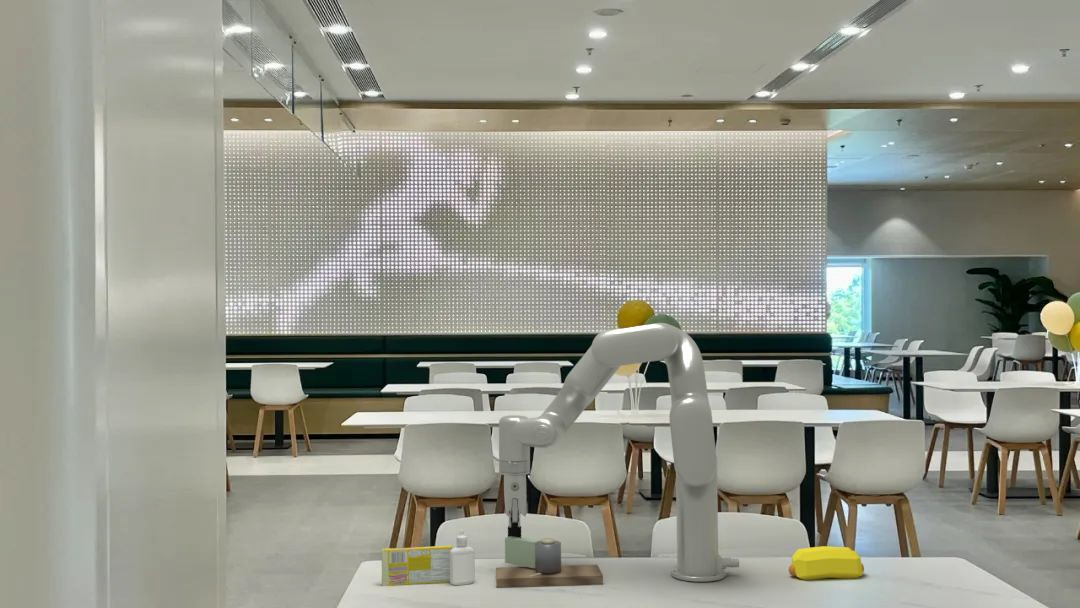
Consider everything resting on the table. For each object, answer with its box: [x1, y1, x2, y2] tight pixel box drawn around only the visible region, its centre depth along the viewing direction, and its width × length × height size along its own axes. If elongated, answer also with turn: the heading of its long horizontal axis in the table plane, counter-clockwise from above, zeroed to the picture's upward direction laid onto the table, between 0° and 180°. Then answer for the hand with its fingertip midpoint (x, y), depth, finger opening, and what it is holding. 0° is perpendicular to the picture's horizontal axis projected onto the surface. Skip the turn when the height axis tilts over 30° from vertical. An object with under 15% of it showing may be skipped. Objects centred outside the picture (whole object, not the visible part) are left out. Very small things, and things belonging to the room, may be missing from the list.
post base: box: [495, 564, 604, 589], centre depth 220 cm, size 24×10×2 cm, turn 94°
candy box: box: [381, 545, 453, 587], centre depth 219 cm, size 16×2×8 cm, turn 97°
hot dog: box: [788, 545, 865, 581], centre depth 220 cm, size 18×7×8 cm
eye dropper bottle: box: [449, 529, 476, 586], centre depth 219 cm, size 4×6×12 cm
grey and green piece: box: [504, 536, 562, 574], centre depth 223 cm, size 15×6×7 cm, turn 53°
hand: (514, 543), depth 230 cm, fingers closed
